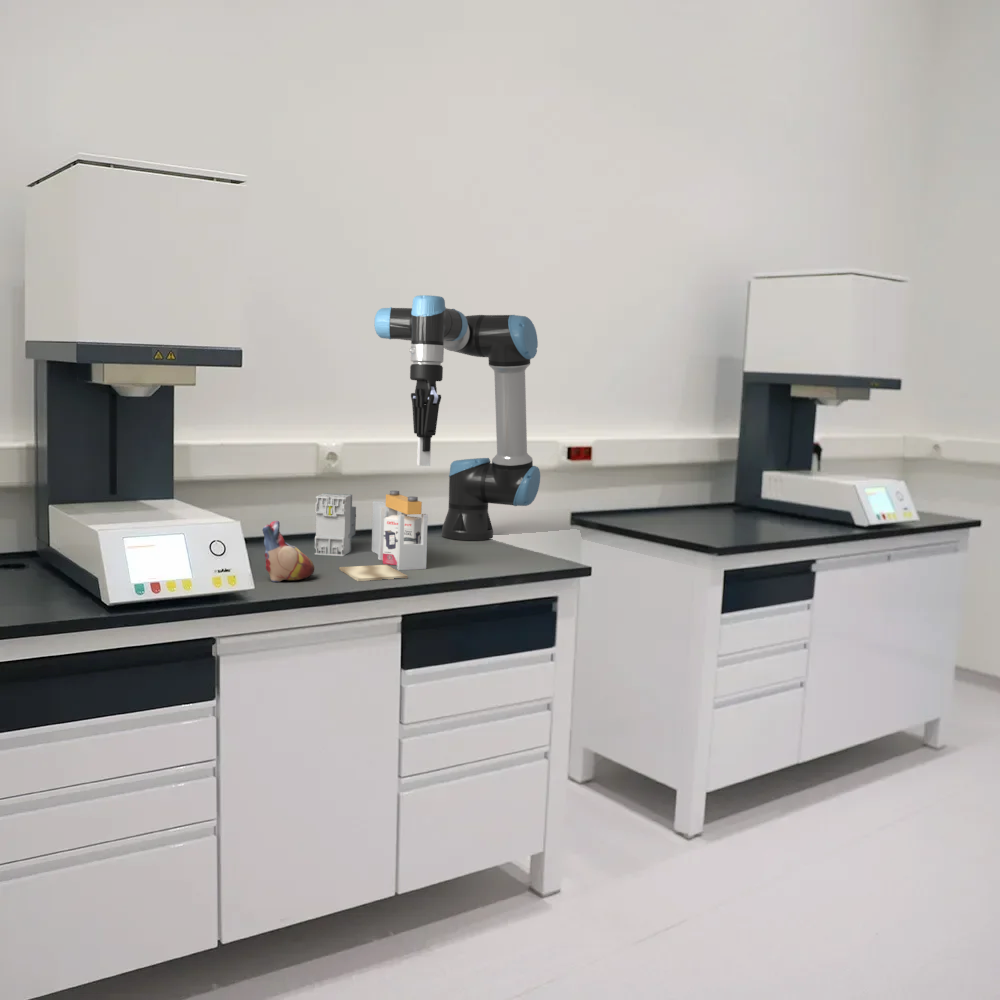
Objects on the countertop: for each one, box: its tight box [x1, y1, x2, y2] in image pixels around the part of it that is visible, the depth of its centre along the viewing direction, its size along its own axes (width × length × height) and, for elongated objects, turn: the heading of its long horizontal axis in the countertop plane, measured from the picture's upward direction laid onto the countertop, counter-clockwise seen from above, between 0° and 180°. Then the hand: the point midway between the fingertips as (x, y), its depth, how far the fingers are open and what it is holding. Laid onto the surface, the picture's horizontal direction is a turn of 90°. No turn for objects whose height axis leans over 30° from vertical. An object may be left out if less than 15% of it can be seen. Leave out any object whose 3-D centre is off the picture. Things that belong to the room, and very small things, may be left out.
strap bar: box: [385, 490, 423, 516], centre depth 246 cm, size 4×15×4 cm, turn 26°
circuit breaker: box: [314, 492, 357, 557], centre depth 262 cm, size 8×14×15 cm, turn 174°
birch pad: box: [338, 564, 408, 582], centre depth 234 cm, size 12×14×1 cm
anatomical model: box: [262, 520, 315, 583], centre depth 223 cm, size 10×9×15 cm
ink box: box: [382, 514, 421, 566], centre depth 247 cm, size 8×5×12 cm, turn 72°
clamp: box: [371, 500, 429, 571], centre depth 252 cm, size 7×26×13 cm, turn 26°
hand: (423, 465), depth 233 cm, fingers closed
